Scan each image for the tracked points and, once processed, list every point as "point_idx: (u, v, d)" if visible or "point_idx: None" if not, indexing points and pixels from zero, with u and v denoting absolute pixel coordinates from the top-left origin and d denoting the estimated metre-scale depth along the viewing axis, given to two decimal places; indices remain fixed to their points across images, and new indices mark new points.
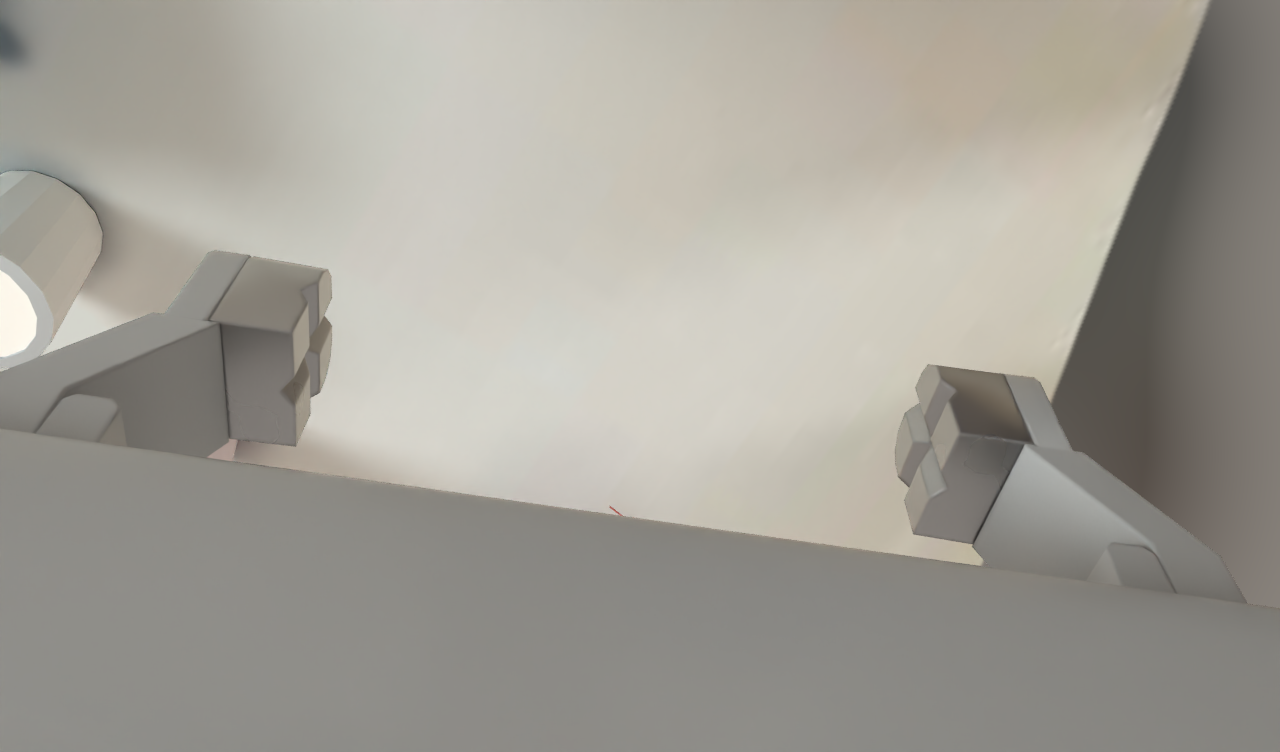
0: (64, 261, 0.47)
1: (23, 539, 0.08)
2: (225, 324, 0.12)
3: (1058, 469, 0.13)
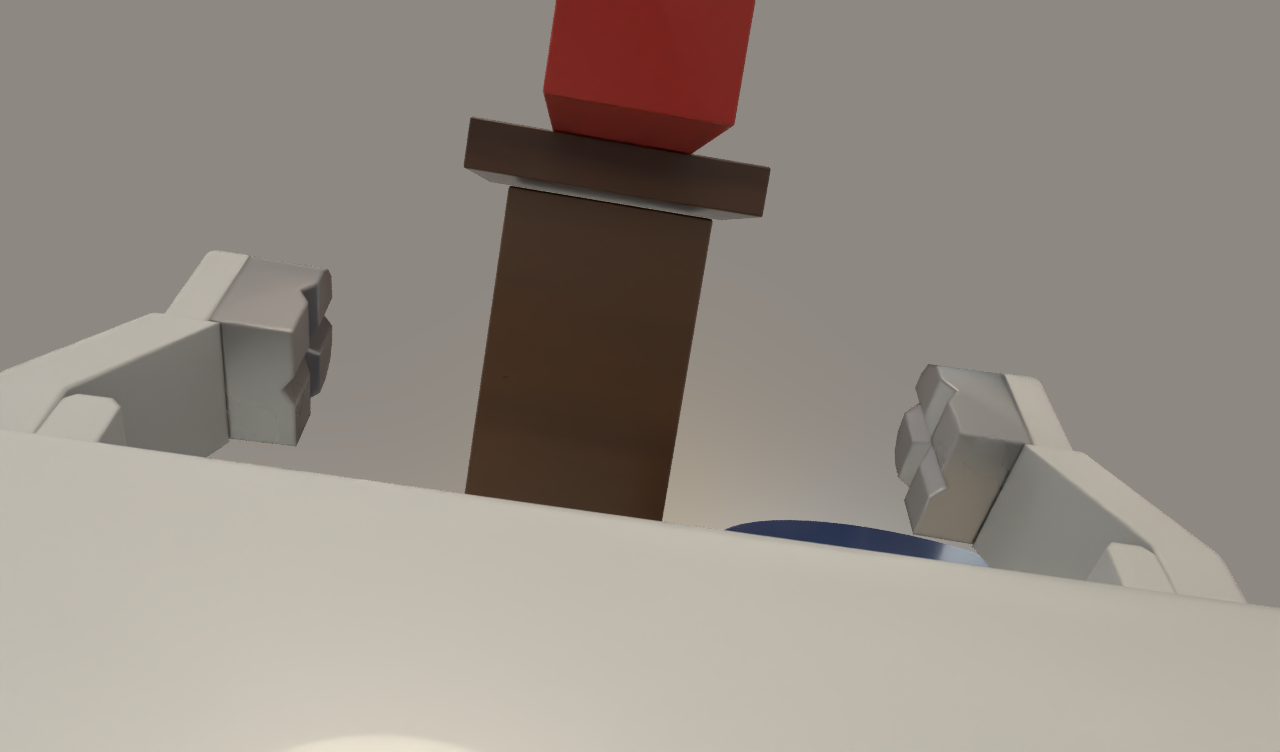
0: None
1: (23, 539, 0.08)
2: (225, 324, 0.12)
3: (1058, 469, 0.13)
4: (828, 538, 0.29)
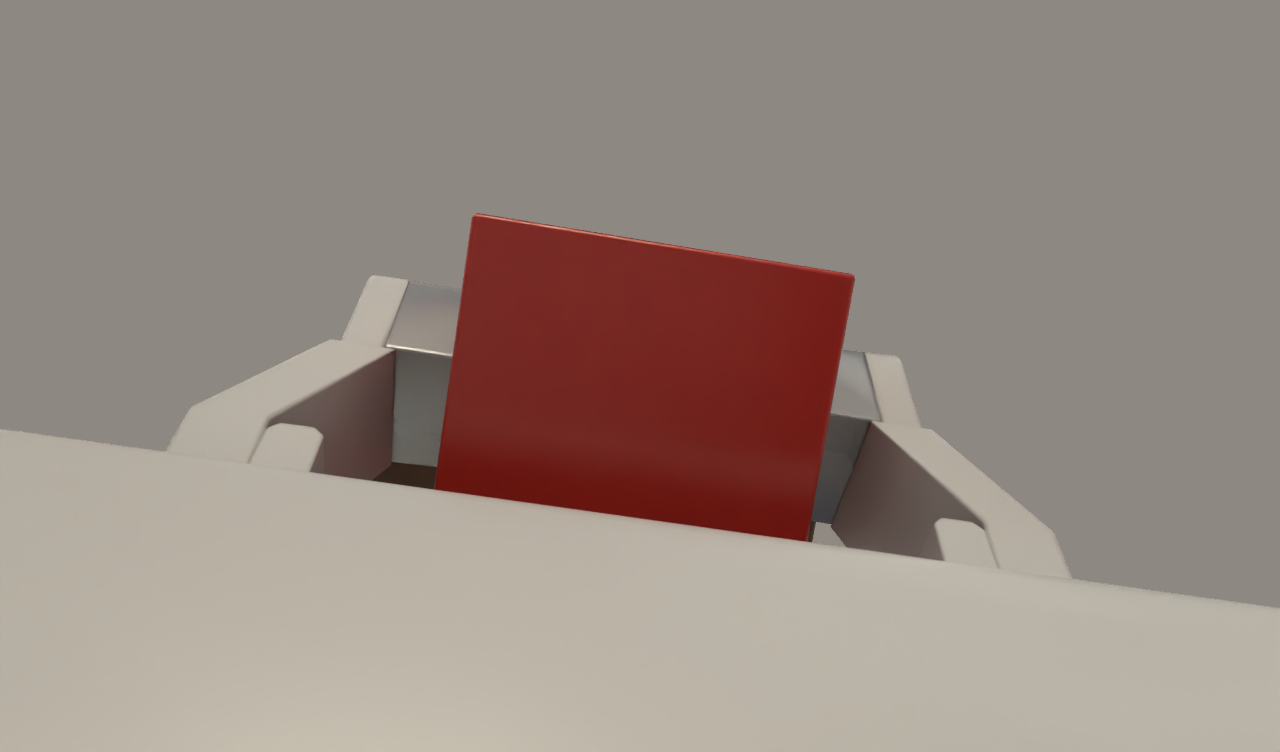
0: None
1: (23, 539, 0.08)
2: (400, 350, 0.12)
3: (902, 446, 0.12)
4: None
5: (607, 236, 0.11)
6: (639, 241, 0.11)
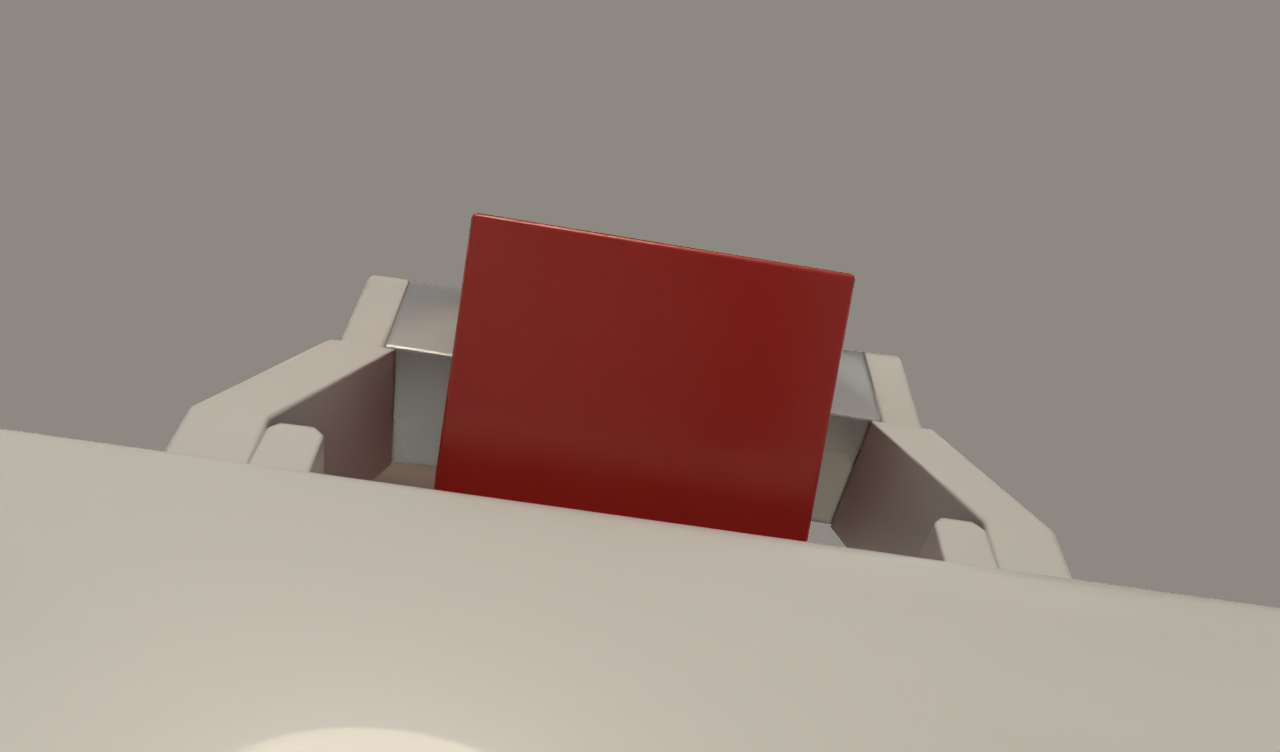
0: None
1: (23, 539, 0.08)
2: (400, 350, 0.12)
3: (902, 446, 0.12)
4: None
5: (607, 236, 0.11)
6: (639, 241, 0.11)
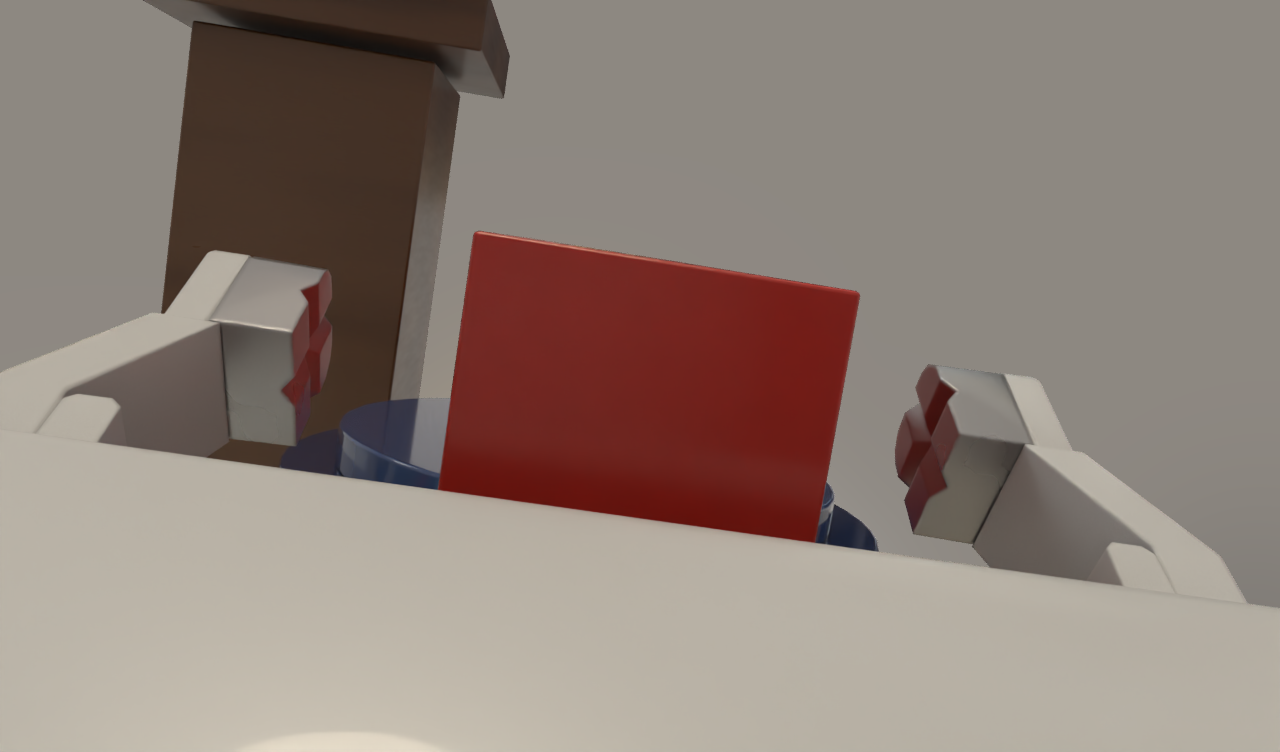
0: None
1: (23, 539, 0.08)
2: (225, 324, 0.12)
3: (1058, 469, 0.13)
4: None
5: (610, 254, 0.11)
6: (642, 258, 0.11)
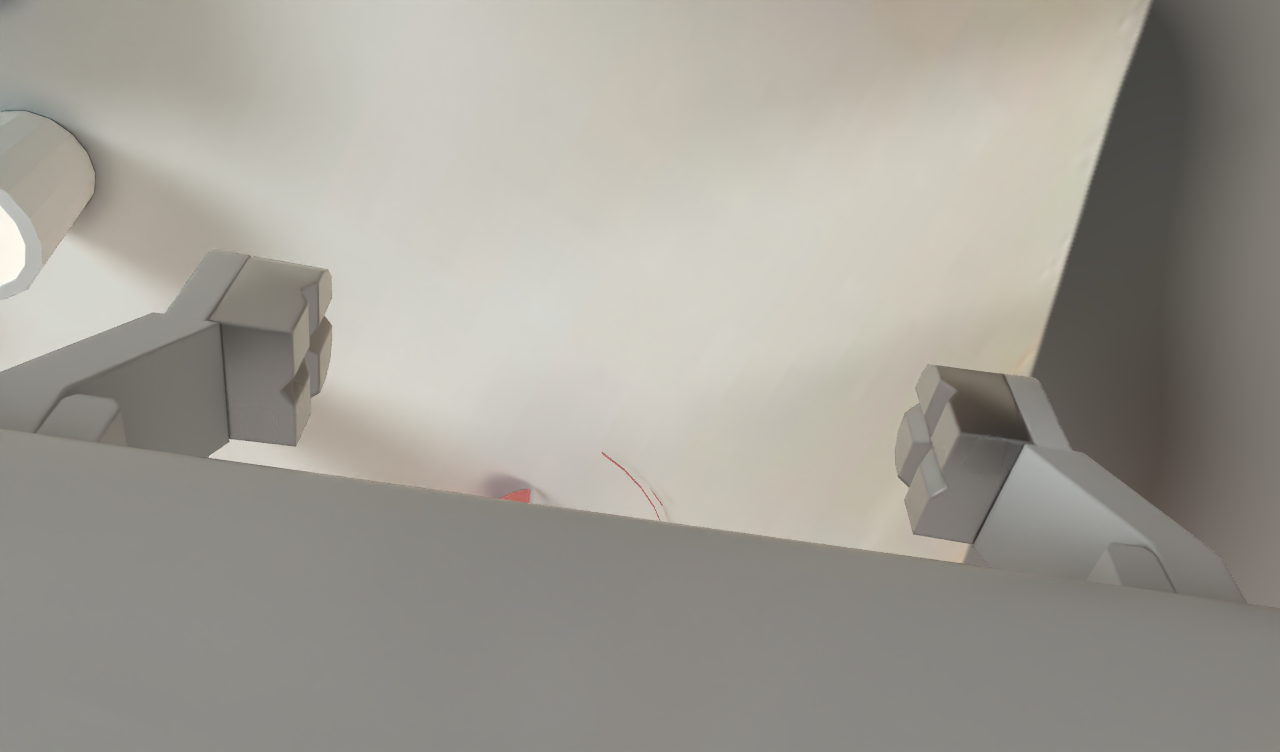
0: (54, 193, 0.48)
1: (24, 539, 0.08)
2: (225, 324, 0.12)
3: (1058, 469, 0.13)
4: None
5: None
6: None
